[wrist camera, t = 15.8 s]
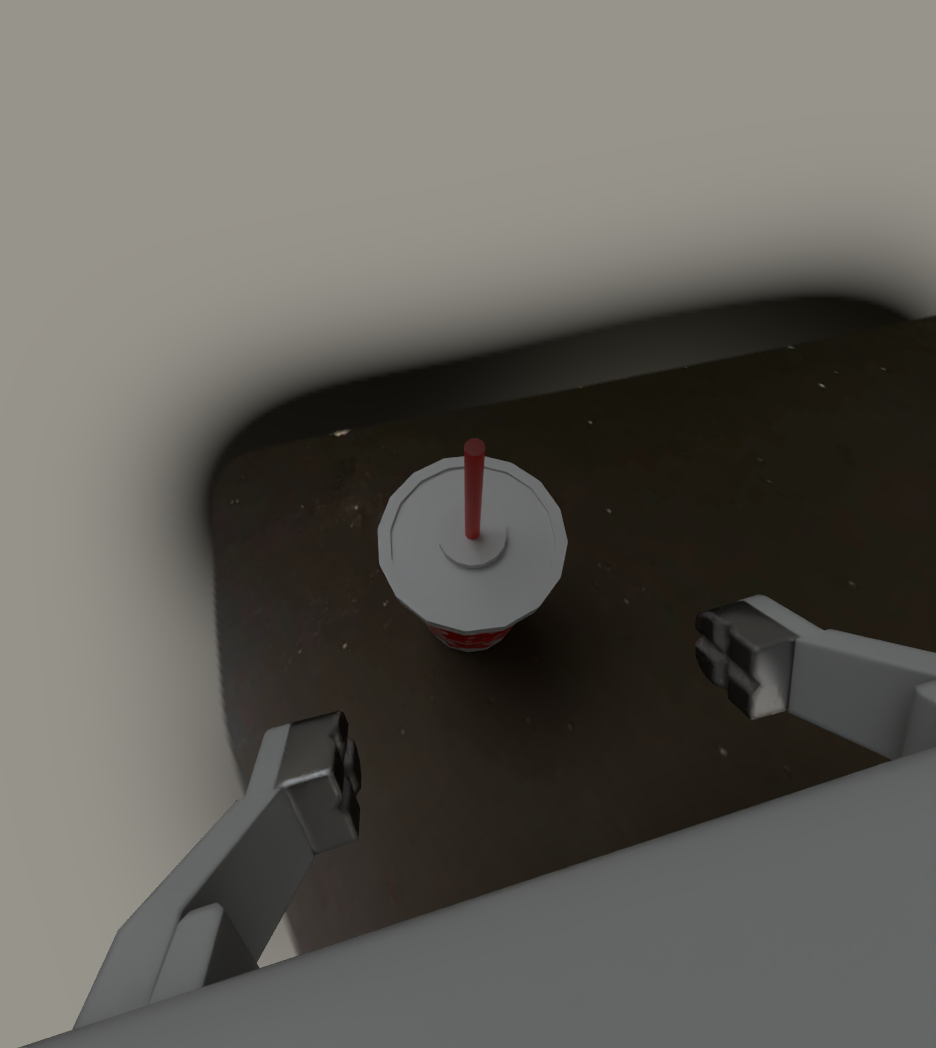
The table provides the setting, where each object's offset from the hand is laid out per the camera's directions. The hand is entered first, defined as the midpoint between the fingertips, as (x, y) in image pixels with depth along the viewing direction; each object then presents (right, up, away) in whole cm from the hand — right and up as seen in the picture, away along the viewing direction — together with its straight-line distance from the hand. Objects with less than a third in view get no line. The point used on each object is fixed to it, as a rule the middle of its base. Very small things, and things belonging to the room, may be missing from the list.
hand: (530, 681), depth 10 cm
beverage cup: (-1, -1, +13) cm, 13 cm away
